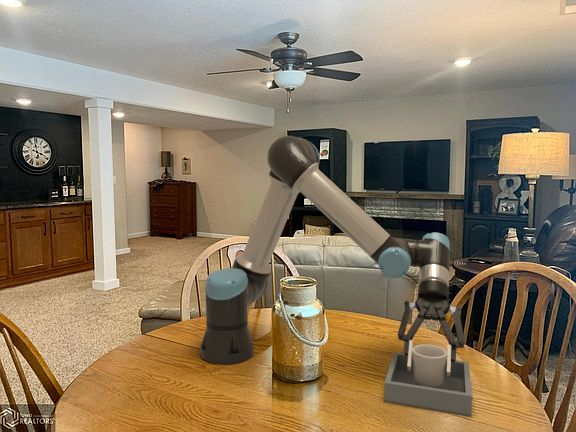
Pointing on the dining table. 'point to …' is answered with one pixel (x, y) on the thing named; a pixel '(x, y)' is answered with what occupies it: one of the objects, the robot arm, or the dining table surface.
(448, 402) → the tray
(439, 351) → the cup
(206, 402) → the dining table surface
